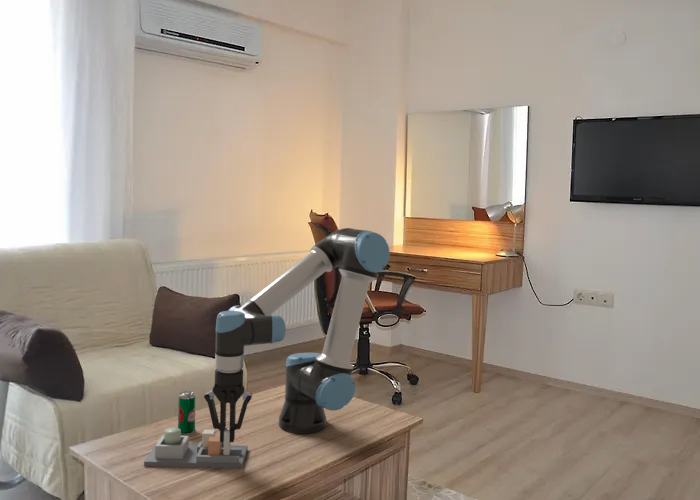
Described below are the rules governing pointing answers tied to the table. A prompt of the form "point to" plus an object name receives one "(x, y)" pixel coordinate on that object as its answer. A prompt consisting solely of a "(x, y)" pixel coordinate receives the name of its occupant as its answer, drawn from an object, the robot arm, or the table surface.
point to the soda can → (186, 412)
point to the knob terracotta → (214, 446)
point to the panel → (194, 455)
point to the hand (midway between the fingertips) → (226, 452)
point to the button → (172, 436)
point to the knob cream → (207, 436)
